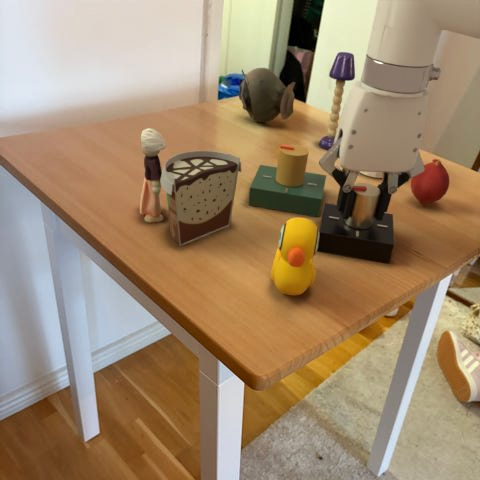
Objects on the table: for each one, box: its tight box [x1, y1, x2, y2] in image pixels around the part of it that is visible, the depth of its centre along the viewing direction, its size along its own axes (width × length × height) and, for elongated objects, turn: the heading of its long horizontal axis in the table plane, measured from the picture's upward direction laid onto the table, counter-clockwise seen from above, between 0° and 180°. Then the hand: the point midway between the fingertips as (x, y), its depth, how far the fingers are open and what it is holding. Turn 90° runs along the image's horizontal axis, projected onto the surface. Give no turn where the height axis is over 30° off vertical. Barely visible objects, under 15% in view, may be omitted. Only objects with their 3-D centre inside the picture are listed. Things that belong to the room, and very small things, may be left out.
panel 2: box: [316, 202, 395, 264], centre depth 75 cm, size 10×9×3 cm
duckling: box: [270, 217, 320, 296], centre depth 62 cm, size 11×5×10 cm, turn 171°
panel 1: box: [247, 164, 327, 218], centre depth 84 cm, size 11×9×3 cm
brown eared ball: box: [238, 67, 296, 123], centre depth 109 cm, size 10×12×10 cm
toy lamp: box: [318, 51, 356, 151], centre depth 99 cm, size 5×5×17 cm
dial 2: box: [344, 182, 381, 229], centre depth 72 cm, size 4×4×5 cm
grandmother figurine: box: [139, 127, 167, 224], centre depth 73 cm, size 8×4×13 cm, turn 22°
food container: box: [160, 150, 242, 248], centre depth 72 cm, size 12×6×10 cm, turn 134°
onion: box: [410, 157, 450, 206], centre depth 85 cm, size 6×6×8 cm
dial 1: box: [276, 143, 310, 187], centre depth 81 cm, size 4×4×5 cm
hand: (359, 214), depth 73 cm, fingers closed on dial 2, 4 cm apart
